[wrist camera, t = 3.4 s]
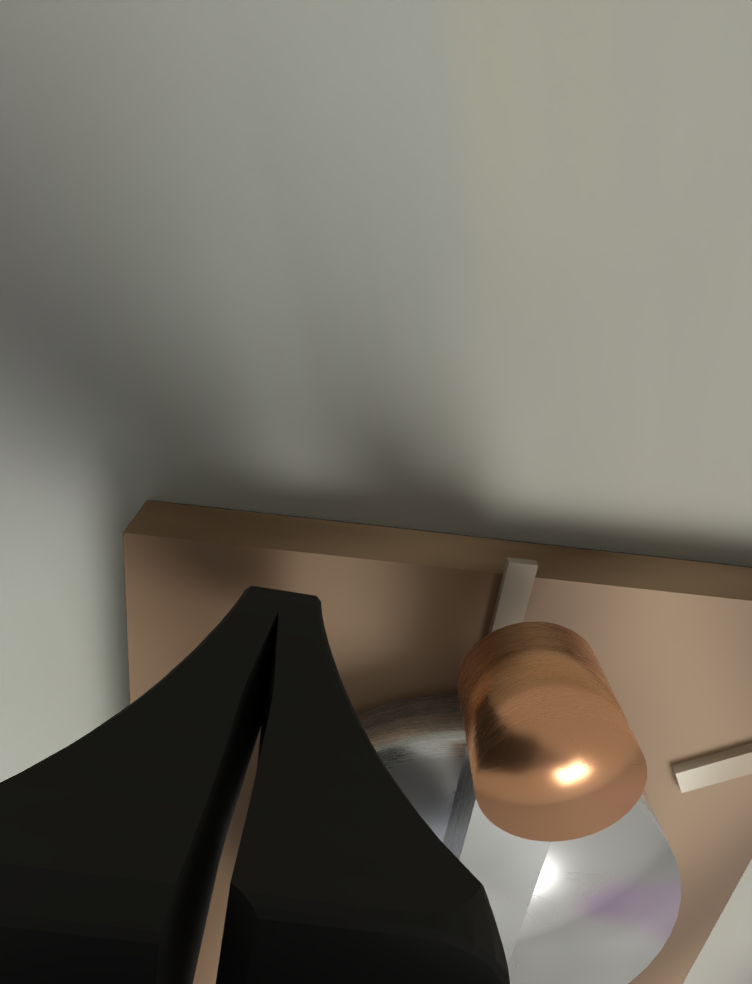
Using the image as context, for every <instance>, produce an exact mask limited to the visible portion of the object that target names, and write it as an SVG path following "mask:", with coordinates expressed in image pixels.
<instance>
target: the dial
mask: <svg viewBox="0 0 752 984" xmlns="http://www.w3.org/2000/svg"><path fill="white" fill-rule="evenodd" d="M457 690H458V694H441V695H428V696H422V697H416V698H410V699H403V700H399V701H395V702H392V703H388V704H384V705H380V706H377V707H373V708H371V709H368V710H366V711H363V712H360V713H358V714H356V715H357V717H358V719H359V721H360V723H361V725H362V727H363V729H364V730H365V732H366V734H367V736H368V738H369V739H370V741H371V743H372V745H373V747H374V748H375V750H376V752H377V753H378V755H379V757H380V758H381V760H382V762H383V763H384V765H385V766H386V768H387V770H388V771H389V773H390V774H391V776H392V777H393V778H394V780H395V781H396V783H397V784H398V785H399V787H400V788H401V790H402V791H403V792H404V794H405V795H406V797H407V798H408V799H409V801H410V802H411V804H412V805H413V806H414V808H415V809H416V811H417V812H418V813H419V815H420V816H421V817H422V818H423V820H424V821H425V822H426V823H427V824H428V826H429V827H430V828H431V829H432V831H433V832H434V833H435V834H436V836H437V837H438V838H439V839H440V840H441V841H442V842H443V844H444V845H445V846H446V847H447V848H448V849H449V850H450V851H451V852H452V853H453V854H454V855H455V856H456V857H457V858H458V859H459V860H460V861H461V862H462V863H463V864H464V866H465V867H466V868H467V869H468V870H469V871H470V872H471V873H472V874H473V875H474V876H475V877H476V878H477V879H478V880H479V881H480V882H481V883H482V885H483V886H484V888H485V891H486V894H487V897H488V900H489V903H490V906H491V908H492V911H493V914H494V917H495V921H496V924H497V927H498V931H499V934H500V938H501V941H502V944H503V948H504V952H505V956H506V960H507V965H508V971H509V977H510V984H628V983H630V982H631V981H632V980H633V979H634V978H635V977H637V976H638V975H639V974H640V973H641V972H642V971H643V970H644V969H645V968H646V967H647V966H648V965H649V964H650V963H651V962H652V960H653V959H654V958H655V957H656V956H657V954H658V953H659V952H660V951H661V949H662V947H663V946H664V944H665V943H666V941H667V939H668V938H669V936H670V934H671V932H672V929H673V927H674V924H675V922H676V919H677V917H678V912H679V907H680V902H681V878H680V874H679V869H678V865H677V861H676V859H675V856H674V854H673V852H672V850H671V848H670V845H669V843H668V841H667V839H666V837H665V834H664V832H663V830H662V828H661V826H660V823H659V821H658V819H657V817H656V815H655V812H654V810H653V808H652V806H651V804H650V801H649V799H648V797H647V795H646V793H645V790H644V788H645V784H646V780H647V765H646V760H645V757H644V755H643V753H642V750H641V748H640V746H639V744H638V742H637V740H636V738H635V736H634V734H633V732H632V730H631V728H630V726H629V724H628V721H627V719H626V717H625V715H624V713H623V711H622V709H621V707H620V705H619V703H618V701H617V699H616V697H615V695H614V692H613V690H612V688H611V686H610V684H609V682H608V680H607V678H606V676H605V674H604V672H603V670H602V668H601V666H600V663H599V661H598V659H597V657H596V655H595V653H594V651H593V649H592V648H591V646H590V645H589V644H588V643H587V642H586V641H585V639H584V638H582V637H581V636H580V635H579V634H577V633H576V632H574V631H572V630H570V629H568V628H566V627H563V626H561V625H557V624H554V623H548V622H535V621H534V622H522V623H516V624H512V625H508V626H505V627H503V628H500V629H497V630H495V631H493V632H492V633H490V634H488V635H486V636H485V637H483V638H482V639H481V640H479V641H478V642H477V643H476V644H475V645H474V646H473V647H472V648H471V649H470V650H469V651H468V653H467V654H466V656H465V657H464V659H463V661H462V663H461V665H460V668H459V671H458V676H457Z"/></svg>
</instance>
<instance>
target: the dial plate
mask: <svg viewBox="0 0 752 984" xmlns="http://www.w3.org/2000/svg"><path fill="white" fill-rule="evenodd" d="M123 541H124V566H125V590H126V614H127V638H128V662H129V686H130V704H131V703H133V702H134V701H135V700H137V699H138V698H139V697H141V696H142V695H143V694H144V693H146V692H147V691H148V690H149V689H151V688H152V687H153V686H154V685H155V684H157V683H158V682H159V681H160V680H161V679H163V678H164V677H165V676H166V675H167V674H168V673H169V672H170V671H171V670H173V669H174V668H175V667H176V666H177V665H178V664H179V663H180V662H181V661H182V660H183V659H185V658H186V657H187V656H188V655H189V654H190V653H191V652H192V651H193V650H194V649H195V648H196V647H197V646H198V645H199V644H200V643H201V642H202V641H203V640H204V639H205V638H206V637H207V636H208V634H209V633H210V632H211V631H212V630H213V629H214V628H215V627H216V626H217V625H218V624H219V623H220V622H221V620H222V619H223V618H224V617H225V616H226V615H227V613H228V612H229V611H230V610H231V609H232V607H233V606H234V605H235V603H236V602H237V601H238V599H239V598H240V597H241V595H242V594H243V592H244V591H245V590H246V589H247V588H249V587H250V586H258V587H264V588H270V589H277V590H283V591H290V592H296V593H302V594H309V595H315V596H317V597H318V598H319V600H320V601H321V608H322V616H323V622H324V626H325V631H326V635H327V638H328V642H329V646H330V649H331V652H332V655H333V658H334V661H335V664H336V667H337V669H338V672H339V675H340V678H341V680H342V683H343V685H344V688H345V690H346V692H347V695H348V697H349V699H350V702H351V704H352V706H353V708H354V710H355V713H356V714H358V713H360V712H363V711H366V710H368V709H371V708H373V707H377V706H380V705H384V704H388V703H392V702H395V701H399V700H403V699H410V698H416V697H422V696H428V695H441V694H458V690H457V676H458V671H459V668H460V665H461V663H462V661H463V659H464V657H465V656H466V654H467V653H468V651H469V650H470V649H471V648H472V647H473V646H474V645H475V644H476V643H477V642H478V641H479V640H481V639H482V638H483V637H485V636H486V635H488V634H490V633H492V632H493V631H495V630H497V629H500V628H503V627H505V626H508V625H512V624H516V623H522V622H534V621H535V622H548V623H554V624H557V625H561V626H563V627H566V628H568V629H570V630H572V631H574V632H576V633H577V634H579V635H580V636H581V637H582V638H584V639H585V641H586V642H587V643H588V644H589V645H590V646H591V648H592V649H593V651H594V653H595V655H596V657H597V659H598V661H599V663H600V666H601V668H602V670H603V672H604V674H605V676H606V678H607V680H608V682H609V684H610V686H611V688H612V690H613V692H614V695H615V697H616V699H617V701H618V703H619V705H620V707H621V709H622V711H623V713H624V715H625V717H626V719H627V721H628V724H629V726H630V728H631V730H632V732H633V734H634V736H635V738H636V740H637V742H638V744H639V746H640V748H641V750H642V753H643V755H644V757H645V760H646V765H647V780H646V784H645V788H644V790H645V793H646V795H647V797H648V799H649V801H650V804H651V806H652V808H653V810H654V812H655V815H656V817H657V819H658V821H659V823H660V826H661V828H662V830H663V832H664V834H665V837H666V839H667V841H668V843H669V845H670V848H671V850H672V852H673V854H674V856H675V859H676V861H677V865H678V869H679V874H680V878H681V902H680V907H679V912H678V917H677V919H676V922H675V924H674V927H673V929H672V932H671V934H670V936H669V938H668V939H667V941H666V943H665V944H664V946H663V947H662V949H661V951H660V952H659V953H658V954H657V956H656V957H655V958H654V959H653V960H652V962H651V963H650V964H649V965H648V966H647V967H646V968H645V969H644V970H643V971H642V972H641V973H640V974H639V975H638V976H637V977H635V978H634V979H633V980H632V981H631V982H630V983H628V984H683V982H684V980H685V979H686V977H687V975H688V973H689V971H690V969H691V968H692V966H693V964H694V962H695V960H696V959H697V957H698V955H699V953H700V951H701V949H702V948H703V946H704V944H705V942H706V940H707V939H708V937H709V935H710V933H711V931H712V930H713V928H714V926H715V924H716V922H717V920H718V919H719V917H720V915H721V913H722V911H723V910H724V908H725V906H726V904H727V902H728V901H729V899H730V897H731V895H732V893H733V891H734V890H735V888H736V886H737V884H738V882H739V881H740V879H741V877H742V875H743V873H744V872H745V870H746V868H747V866H748V864H749V862H750V861H751V859H752V568H750V567H741V566H732V565H723V564H715V563H706V562H697V561H688V560H679V559H670V558H661V557H652V556H643V555H634V554H625V553H616V552H607V551H598V550H589V549H580V548H571V547H562V546H553V545H544V544H535V543H526V542H517V541H508V540H499V539H490V538H481V537H472V536H463V535H454V534H445V533H436V532H427V531H418V530H409V529H400V528H391V527H382V526H373V525H364V524H355V523H346V522H337V521H328V520H319V519H310V518H301V517H292V516H283V515H274V514H265V513H256V512H247V511H238V510H229V509H220V508H211V507H202V506H193V505H184V504H175V503H166V502H157V501H148V500H147V501H146V503H145V504H144V505H143V507H142V508H141V509H140V511H139V512H138V513H137V515H136V516H135V518H134V519H133V520H132V522H131V523H130V524H129V526H128V527H127V528H126V530H125V531H124V532H123ZM260 732H261V727H260V731H259V734H258V737H257V740H256V744H255V747H254V750H253V753H252V756H251V760H250V763H249V766H248V769H247V772H246V776H245V779H244V782H243V785H242V788H241V791H240V795H239V798H238V801H237V804H236V807H235V811H234V814H233V817H232V820H231V823H230V826H229V830H228V833H227V836H226V840H225V843H224V847H223V851H222V854H221V858H220V862H219V866H218V871H217V875H216V880H215V884H214V889H213V893H212V898H211V902H210V907H209V912H208V916H207V921H206V925H205V930H204V935H203V939H202V944H201V948H200V953H199V958H198V962H197V967H196V972H195V976H194V981H193V984H216V978H217V971H218V964H219V957H220V950H221V943H222V937H223V930H224V923H225V916H226V909H227V902H228V895H229V889H230V882H231V878H232V874H233V870H234V866H235V861H236V857H237V853H238V849H239V845H240V841H241V836H242V832H243V828H244V824H245V820H246V815H247V811H248V807H249V802H250V798H251V793H252V789H253V785H254V780H255V776H256V771H257V761H258V752H259V742H260Z"/></svg>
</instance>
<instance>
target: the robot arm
mask: <svg viewBox="0 0 752 984" xmlns="http://www.w3.org/2000/svg"><path fill="white" fill-rule="evenodd" d="M260 727H261V732H260V742H259V752H258V761H257V771H256V776H255V780H254V785H253V789H252V793H251V798H250V802H249V807H248V811H247V815H246V820H245V824H244V828H243V832H242V836H241V841H240V845H239V849H238V853H237V857H236V861H235V866H234V870H233V874H232V878H231V882H230V889H229V895H228V902H227V909H226V916H225V923H224V930H223V937H222V943H221V950H220V957H219V964H218V971H217V978H216V984H510V977H509V971H508V965H507V960H506V956H505V952H504V948H503V944H502V941H501V938H500V934H499V931H498V927H497V924H496V921H495V917H494V914H493V911H492V908H491V906H490V903H489V900H488V897H487V894H486V891H485V888H484V886H483V885H482V883H481V882H480V881H479V880H478V879H477V878H476V877H475V876H474V875H473V874H472V873H471V872H470V871H469V870H468V869H467V868H466V867H465V866H464V864H463V863H462V862H461V861H460V860H459V859H458V858H457V857H456V856H455V855H454V854H453V853H452V852H451V851H450V850H449V849H448V848H447V847H446V846H445V845H444V844H443V842H442V841H441V840H440V839H439V838H438V837H437V836H436V834H435V833H434V832H433V831H432V829H431V828H430V827H429V826H428V824H427V823H426V822H425V821H424V820H423V818H422V817H421V816H420V815H419V813H418V812H417V811H416V809H415V808H414V806H413V805H412V804H411V802H410V801H409V799H408V798H407V797H406V795H405V794H404V792H403V791H402V790H401V788H400V787H399V785H398V784H397V783H396V781H395V780H394V778H393V777H392V776H391V774H390V773H389V771H388V770H387V768H386V766H385V765H384V763H383V762H382V760H381V758H380V757H379V755H378V753H377V752H376V750H375V748H374V747H373V745H372V743H371V741H370V739H369V738H368V736H367V734H366V732H365V730H364V729H363V727H362V725H361V723H360V721H359V719H358V717H357V715H356V713H355V710H354V708H353V706H352V704H351V702H350V699H349V697H348V695H347V692H346V690H345V688H344V685H343V683H342V680H341V678H340V675H339V672H338V669H337V667H336V664H335V661H334V658H333V655H332V652H331V649H330V646H329V642H328V638H327V635H326V631H325V626H324V622H323V616H322V608H321V601H320V600H319V598H318V597H317V596H315V595H309V594H302V593H296V592H290V591H283V590H277V589H270V588H264V587H258V586H250V587H249V588H247V589H246V590H245V591H244V592H243V594H242V595H241V597H240V598H239V599H238V601H237V602H236V603H235V605H234V606H233V607H232V609H231V610H230V611H229V612H228V613H227V615H226V616H225V617H224V618H223V619H222V620H221V622H220V623H219V624H218V625H217V626H216V627H215V628H214V629H213V630H212V631H211V632H210V633H209V634H208V636H207V637H206V638H205V639H204V640H203V641H202V642H201V643H200V644H199V645H198V646H197V647H196V648H195V649H194V650H193V651H192V652H191V653H190V654H189V655H188V656H187V657H186V658H185V659H183V660H182V661H181V662H180V663H179V664H178V665H177V666H176V667H175V668H174V669H173V670H171V671H170V672H169V673H168V674H167V675H166V676H165V677H164V678H163V679H161V680H160V681H159V682H158V683H157V684H155V685H154V686H153V687H152V688H151V689H149V690H148V691H147V692H146V693H144V694H143V695H142V696H141V697H139V698H138V699H137V700H135V701H134V702H133V703H131V704H130V705H129V706H127V707H126V708H125V709H123V710H122V711H121V712H119V713H118V714H116V715H115V716H113V717H112V718H110V719H109V720H107V721H106V722H104V723H103V724H102V725H100V726H99V727H97V728H96V729H94V730H93V731H91V732H90V733H88V734H87V735H85V736H83V737H82V738H80V739H79V740H77V741H76V742H74V743H72V744H71V745H69V746H67V747H66V748H64V749H62V750H60V751H58V752H57V753H55V754H53V755H51V756H49V757H48V758H46V759H44V760H42V761H41V762H39V763H37V764H35V765H33V766H32V767H30V768H28V769H26V770H24V771H23V772H21V773H19V774H17V775H15V776H13V777H11V778H9V779H7V780H5V781H3V782H1V783H0V984H193V981H194V976H195V972H196V967H197V962H198V958H199V953H200V948H201V944H202V939H203V935H204V930H205V925H206V921H207V916H208V912H209V907H210V902H211V898H212V893H213V889H214V884H215V880H216V875H217V871H218V866H219V862H220V858H221V854H222V851H223V847H224V843H225V840H226V836H227V833H228V830H229V826H230V823H231V820H232V817H233V814H234V811H235V807H236V804H237V801H238V798H239V795H240V791H241V788H242V785H243V782H244V779H245V776H246V772H247V769H248V766H249V763H250V760H251V756H252V753H253V750H254V747H255V744H256V740H257V737H258V734H259V731H260Z"/></svg>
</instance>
